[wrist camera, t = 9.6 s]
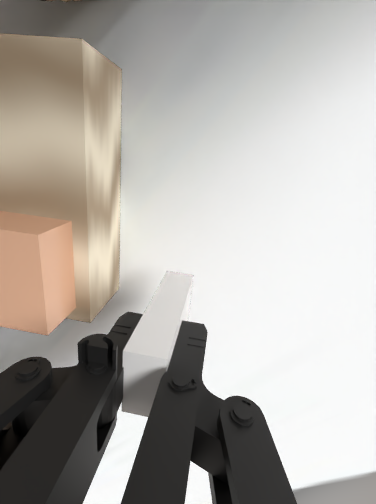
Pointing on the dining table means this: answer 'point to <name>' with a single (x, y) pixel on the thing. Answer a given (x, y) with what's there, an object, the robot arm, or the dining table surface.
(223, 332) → the dining table surface
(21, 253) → the tile
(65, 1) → the rock
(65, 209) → the board
